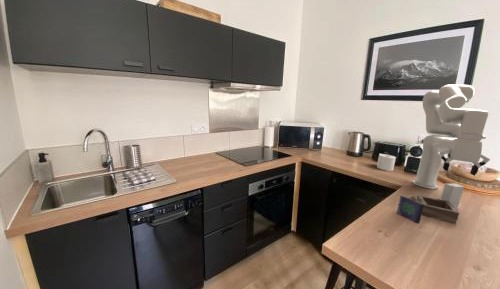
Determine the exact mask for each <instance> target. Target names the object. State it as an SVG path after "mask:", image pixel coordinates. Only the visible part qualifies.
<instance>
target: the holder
mask: <svg viewBox="0 0 500 289" xmlns="http://www.w3.org/2000/svg"><path fill="white" fill-rule="evenodd" d="M440 199H441V198H440ZM440 199H438V198H433V197H430V196H424V195H421V194H417V197H416V200H418V201H421V202H422V203H423V204H424V207H423V211H422V215H421V216H424V217H428V218H432V219H434V220H438V221H439V220H440V221H444V222H448V223H453V224H457V221H458V218H459V215H460V213H459V210H458V209H455V208H454V207H453V205H452V204H451V203H450V202H449V201H445V200H440Z"/></svg>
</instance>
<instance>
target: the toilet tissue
mask: <svg viewBox="0 0 500 289" xmlns="http://www.w3.org/2000/svg"><path fill="white" fill-rule="evenodd" d="M378 154H379V155H378V159H377V163H376V168H377V169H379V170H381V171H388V172H391V171H394V168H395V162H396V159H397V157H396V156H394V155H391V154H386V153H385V154H384V153H378Z"/></svg>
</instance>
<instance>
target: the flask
mask: <svg viewBox="0 0 500 289" xmlns="http://www.w3.org/2000/svg"><path fill="white" fill-rule="evenodd" d="M416 199H417V197H416V195H415V194H414V195H413V194H412V195H410V196H408V195H404V194H401V195H399V201H398V204H397V209H396V213H397V214H398V215H400V216H402V217H403V218H405V219H408V220H409V221H411V222H413V223H416V224H420V223H421V219H422V216H423V215H422V211H423V207H424V204H423V203H422V202H421V201H418V200H416Z"/></svg>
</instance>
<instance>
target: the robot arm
mask: <svg viewBox="0 0 500 289" xmlns="http://www.w3.org/2000/svg"><path fill="white" fill-rule="evenodd" d="M474 95H475V88H474V87H473V86H472V85H471V84H470V85H469V84H446V85H443V86H441V87H440V88H439V90H431V91H427V92H426V93H425V94H424V96H423V98H422V109H423V111H424V113H425V130H426V133H427V134H429V135H427V136H425V137H424V139H423V141H422V152H421V157H420V162H419V166H418V169H417V173H416V177H415V179H412V180H411V182H412V184H414V185H416V186H418V187H421V188H424V189H429V190H430V189H431V190H436V189H437V190H438V188H439V185H437V183H436V182H437V179H438V176H439V171H440V168H441V165H442V161H443V166H442V169H443V170H444V171H445V172H448V171H449V168H450V164H451V163H450V162H451V161H458V162H465V163H472V164H473V165H472V166H471V169H470V172H469V174H470V175H472V176H473V177H474V176H476V174H478V171H479V169H480V168H481V167H483V166H485V165H486V164H487V163H488V162H489V161H490V160H491V159H490V158H489V157H487V156H485V155H483V154H482V149H483V142H482V140H486V135H484V133H483V132H484V130H485V126H486V123H487V121H488V117H489V112H488V111H487V110H483V109H482V110H481V109H475V108H462V107H464V106H465V104H466V103H467V102H468V101H470V100H471V99H473V97H474ZM445 155H446V156H447V157H446V156H445ZM480 159H482V161H481V160H480Z"/></svg>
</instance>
